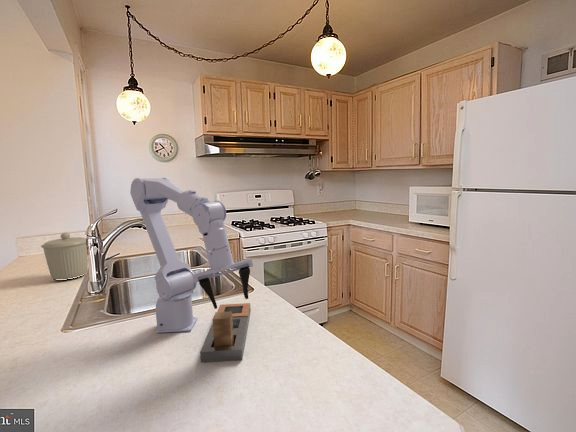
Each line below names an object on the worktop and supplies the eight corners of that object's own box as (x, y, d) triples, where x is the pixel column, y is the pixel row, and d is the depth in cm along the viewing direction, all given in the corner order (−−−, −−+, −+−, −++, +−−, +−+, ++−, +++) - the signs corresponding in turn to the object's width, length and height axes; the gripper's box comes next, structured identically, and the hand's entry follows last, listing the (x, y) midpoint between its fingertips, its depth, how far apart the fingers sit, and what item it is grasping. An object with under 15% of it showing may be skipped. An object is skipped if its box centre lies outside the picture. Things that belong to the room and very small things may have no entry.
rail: (200, 362, 70) (200, 351, 70) (220, 312, 97) (220, 304, 97) (242, 359, 71) (241, 348, 71) (250, 311, 98) (250, 303, 97)
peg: (214, 355, 73) (212, 319, 72) (217, 346, 77) (215, 312, 76) (231, 354, 73) (229, 318, 72) (234, 345, 77) (231, 311, 76)
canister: (75, 283, 134) (70, 235, 132) (34, 284, 134) (28, 237, 132) (101, 271, 152) (97, 229, 150) (65, 272, 152) (60, 230, 150)
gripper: (187, 257, 71) (201, 315, 70) (248, 241, 75) (262, 296, 74) (188, 256, 77) (201, 310, 77) (245, 242, 81) (257, 292, 81)
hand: (231, 303), depth 76 cm, fingers open, 7 cm apart
